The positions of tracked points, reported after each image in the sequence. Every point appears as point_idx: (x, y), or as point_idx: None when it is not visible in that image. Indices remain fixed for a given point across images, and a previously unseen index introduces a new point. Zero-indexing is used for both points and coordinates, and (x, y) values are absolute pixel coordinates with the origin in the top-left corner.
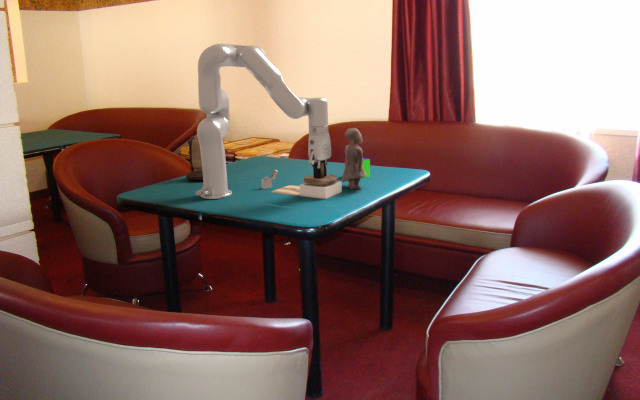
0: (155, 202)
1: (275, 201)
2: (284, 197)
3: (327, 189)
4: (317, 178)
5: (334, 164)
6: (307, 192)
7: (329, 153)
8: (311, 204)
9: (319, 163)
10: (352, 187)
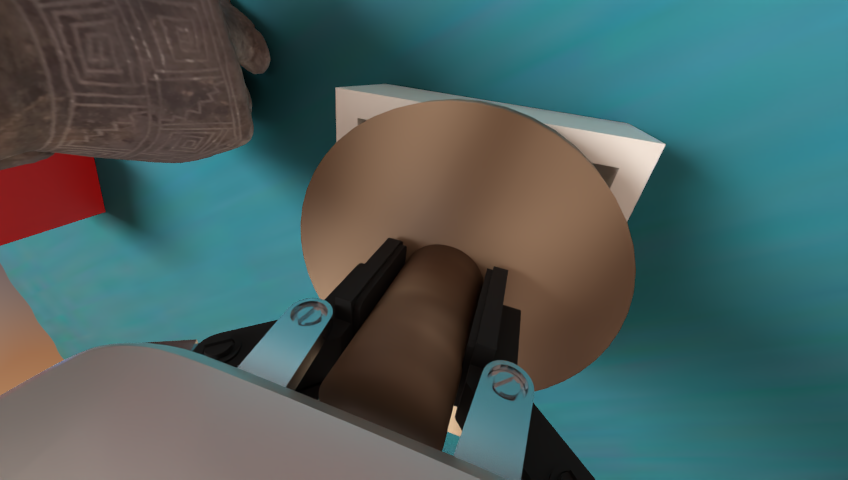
0: None
1: (664, 414)
2: (559, 385)
3: (612, 131)
4: None
5: (36, 299)
6: None
7: (58, 447)
8: (782, 195)
9: (479, 429)
10: (255, 46)
